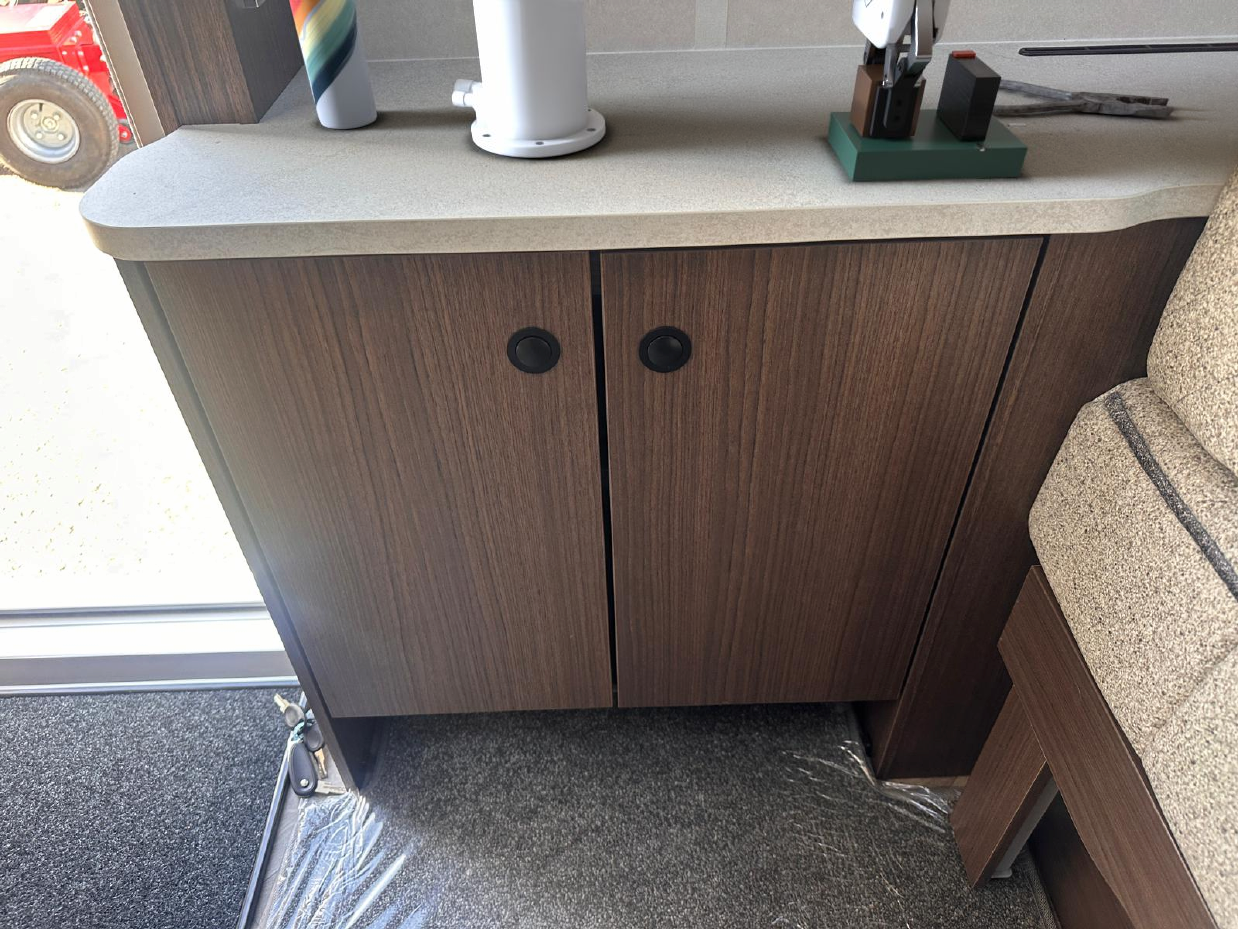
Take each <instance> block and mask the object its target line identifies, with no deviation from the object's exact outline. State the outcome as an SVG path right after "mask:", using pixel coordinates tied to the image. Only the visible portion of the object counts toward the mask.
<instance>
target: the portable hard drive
mask: <svg viewBox="0 0 1238 929" xmlns="http://www.w3.org/2000/svg"><path fill="white" fill-rule="evenodd" d="M1001 79H1002V76H1001V75H1000V74H998V73H997V72H996V71H995V70H994V69H992V68H991V67H990V66H989V65H987V63H985V62H984V61H983V60H981V59H980V58H979V57H978V56H977V53H976V52H975V51H973V49H971V50H970V49H969V50H951V53H948V58H947V62H946V67H945V72H944V76H943V81H942V85H941V89H940V93H939V97H938V98H939V99H938V102H937V106H938V107H936V109H937V111H936V114H937V115H938V116H939V117H940V118H941V120H942V121H943V122H944V123H945V124H946V125H947V126H948V127H949V128H950V130H951V131H952V132H953V133H954V134H955V135H956V136H957V137H958V138H959V139H960V141H985V139H986V135H987V131H988V127H989V124H990V120H991V116H992V115H993V113H992V112H993V108H994V105H996V101H997V97H998V94H999V89H1000V87H999V86H1000V82H1001Z"/></svg>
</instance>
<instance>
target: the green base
mask: <svg viewBox="0 0 1238 929" xmlns="http://www.w3.org/2000/svg"><path fill="white" fill-rule="evenodd" d="M937 107H938V105H937ZM937 107H936V108H924V109H922V108H920V113H919V118H918V122H917V127H916V132H915V136H907V137H900V138H873V137H861V135H860V134H859V132H858V131H857V130H856V128H855V127H854V125H853V124H852V122H851V121H850V119H849V118H850V112H851V110H850V111H849V110H848V111H847V110H845V111H844V110H843V111H831V112H830V115H829V116H830V117H829V124H828V131H827V138H826V140H827V141H828V143H829V145H830V147H831V148H832V150H833V151H834V153H835V155H836V156H837V158H838V160H839V162H840V163H841V165H842V167H843V168H844V171H845V172H846V174H847V175H848V177H849V178H850V181H851V182H882V181H886V182H887V181H917V180H918V181H919V180H920V181H921V180H958V179H959V180H960V179H961V180H962V179H963V180H964V179H995V178H996V179H997V178H999V179H1000V178H1020V177H1021V172H1022V169H1023V166H1024V162H1025V159H1026V156H1027V152H1028V150H1029V147H1028V146H1027V145H1026V144H1025V143H1024V142H1023V141H1022V140H1021V139H1019V137H1017V135H1015V134H1014V133H1013V132H1012V131H1011V130H1010V129H1009V128H1017V127H1018V128H1021V127H1022V128H1023V127H1026V123H1022V122H1021V123H1020V122H1019V123H1007V126H1006V125H1004V124H1003V122H1001V121H1000V120H999V119H998V118H997V117H996V116H995V115H994V114H992V116H991V120H990V124H989V127H988V131H987V135H986V139H985V141H960V139H959V138H958V137H957V136H956V135H955V134H954V133H953V132H952V131H951V130H950V128H949V127H948V126H947V125H946V124H945V123H944V122H943V121H942V120H941V118H940V117H939V116H938V115H937V114H936V111H937ZM1008 127H1009V128H1008Z"/></svg>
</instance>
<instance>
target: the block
mask: <svg viewBox="0 0 1238 929" xmlns="http://www.w3.org/2000/svg"><path fill="white" fill-rule="evenodd" d="M897 64H898V63H897ZM897 64H896V66H897ZM884 66H885V64H882V65H863V64H858V65H857V70H856V76H855V82H854V89H853V94H852V100H851V106H850V111H851V112H850V118H849V119H850V121H851V122H852V124H853V125H854V127H855V128H856V130H857V131H858V132H859V134H860V135H861V137H872V136H871V134H870V129H871V123H872V117H873V111H874V106H875V100H876V94H877V88H878V86H883V76H884ZM896 66H895V67H896ZM926 84H927V78H925V76H923V75H922V82H921V86H920V88H919V91H918V96H917V101H916V106H915V111H914V116H913V121H912V126H911V131H910V134H909V135H908V136H915V132H916V127H917V122H918V118H919V113H920V109H922V108H921V107H922V103H923V99H924V94H925V90H926V86H927V85H926Z"/></svg>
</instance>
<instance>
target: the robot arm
mask: <svg viewBox="0 0 1238 929" xmlns="http://www.w3.org/2000/svg"><path fill="white" fill-rule="evenodd" d="M951 1H952V0H853V4H852V9H851V19H852V23H853V24H854V25H855V26H856V28H857V29H858V30H859V31H860V32H861V33H862V34H863V35H864V36H865V37H866V42H865V46H864V49H863V50H864V51H863V56H862V65H882V64H885V66H884V76H883V86H878V88H877V94H876V100H875V106H874V111H873V117H872V123H871V129H870V134H871V136H872V137H873V138H900V137H907V136H908V135H909V134H910V131H911V126H912V121H913V116H914V111H915V106H916V101H917V96H918V91H919V88H920V86H921V82H922V76H923V75H924V74H923V73H924V70H926V68H927V66H928V65H929V64H930V63H931V61H932V58H933V48H934V46H935V45H937V43H939V41H940V40H941V39H942V36H943V34H944V30H945V28H946V23H947V20H948V15H949V11H950V5H951ZM472 3H473V12H474V13H473V14H474V21H475V28H476V29H475V30H476V37H477V45H478V46H477V47H478V54H479V56H478V57H479V64H480V72H481V80H482V81H477V80H476V79H467V78H456V80H455V82H454V85H453V92H452V95H451V101H452V105H453V106H454V107H461V108H473V110H474V111H475V114H476V115H475V116H476V119H475V120H474V121H473V122H472V124H471V128H470V130H471V135H472V141H473V142H474V143H475V145H477V147H479V148H481V149H483V150H484V151H487V152H490V153H492V154H496V155H499V156H506V157H513V158H548V157H550V158H551V157H557V156H564V155H569V154H572V153H577V152H579V151H582V150H583V151H584V150H585V149H588V148H590V147H592V146H594V145H596V144H597V143H598V142H600V141H601V140H602V139H603V137H604V136H605V135H606V119H605V118H604V116H603V115H602V114H601V113H600V112H598V111H597V110H595V109H594V108H591V107H589V95H588V71H587V70H588V69H587V68H588V67H587V46H586V23H585V0H472ZM905 36H910V43H904V40H905ZM902 53H903V54H904V53H906V56H902V57H900V56H901V54H902ZM896 64H897V66H896ZM895 66H896V67H895Z"/></svg>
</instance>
